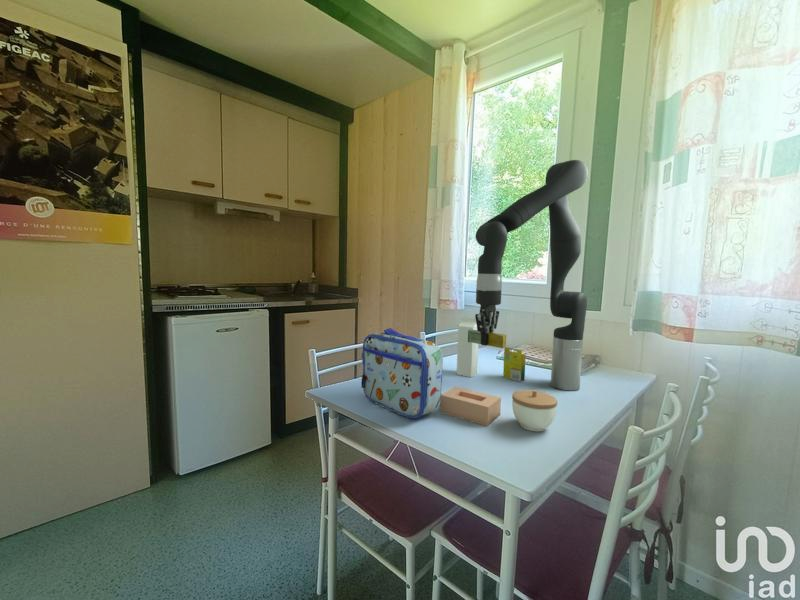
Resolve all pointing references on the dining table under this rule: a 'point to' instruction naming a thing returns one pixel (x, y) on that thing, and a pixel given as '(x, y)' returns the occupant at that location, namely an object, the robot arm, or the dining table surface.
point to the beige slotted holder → (470, 405)
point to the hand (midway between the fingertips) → (486, 343)
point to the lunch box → (402, 373)
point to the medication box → (494, 338)
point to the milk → (467, 349)
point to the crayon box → (514, 364)
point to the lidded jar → (534, 409)
